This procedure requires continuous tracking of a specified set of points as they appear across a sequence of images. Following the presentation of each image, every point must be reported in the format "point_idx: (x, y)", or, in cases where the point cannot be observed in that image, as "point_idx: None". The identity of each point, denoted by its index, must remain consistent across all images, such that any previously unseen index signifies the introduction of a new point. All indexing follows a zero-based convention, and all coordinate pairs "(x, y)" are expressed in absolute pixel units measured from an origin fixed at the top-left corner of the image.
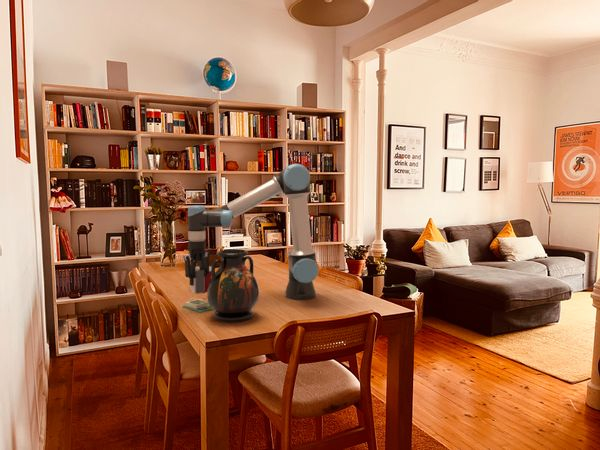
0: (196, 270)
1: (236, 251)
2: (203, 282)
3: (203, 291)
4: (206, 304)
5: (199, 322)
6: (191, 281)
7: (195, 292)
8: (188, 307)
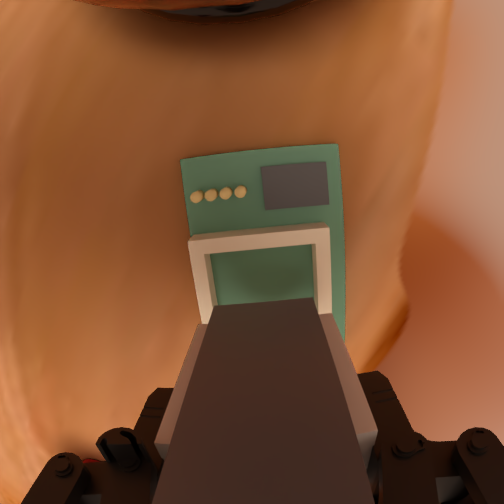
0: None
1: None
2: (202, 370)
3: (222, 307)
4: (226, 233)
5: (429, 4)
6: (401, 407)
7: (321, 315)
8: (342, 290)
